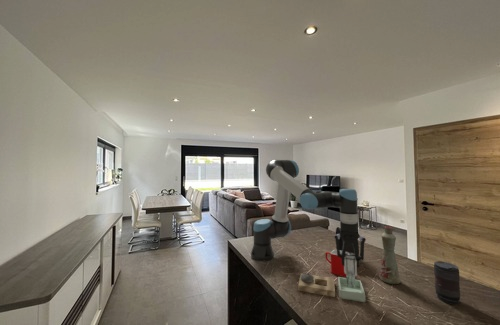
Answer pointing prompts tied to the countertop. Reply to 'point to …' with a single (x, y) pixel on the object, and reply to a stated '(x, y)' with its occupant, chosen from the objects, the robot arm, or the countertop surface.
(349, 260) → the lock pin
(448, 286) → the camera lens
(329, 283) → the block
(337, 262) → the mug
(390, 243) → the bottle
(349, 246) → the wheel rim
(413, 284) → the countertop surface
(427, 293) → the countertop surface
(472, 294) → the countertop surface
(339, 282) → the tray
